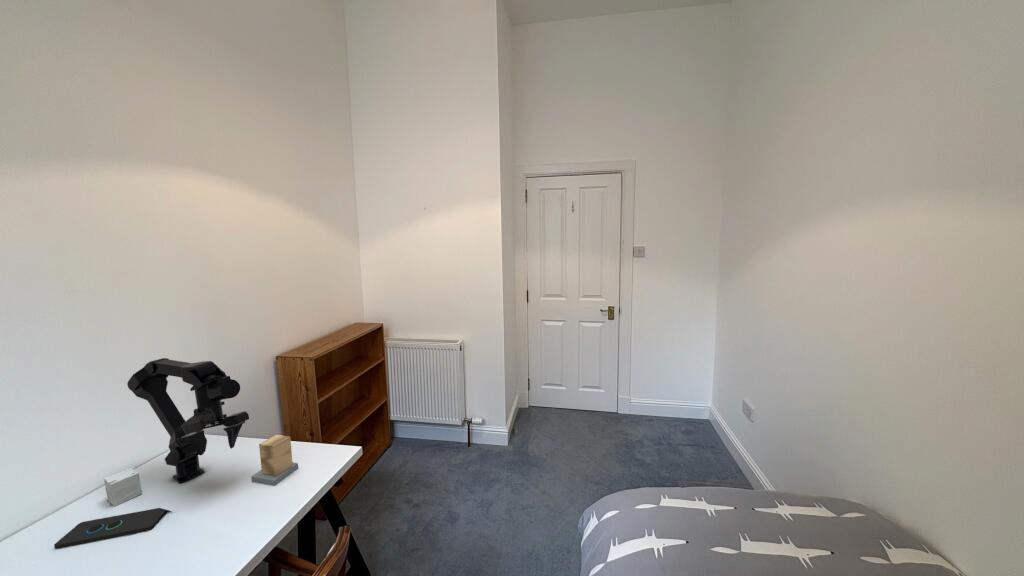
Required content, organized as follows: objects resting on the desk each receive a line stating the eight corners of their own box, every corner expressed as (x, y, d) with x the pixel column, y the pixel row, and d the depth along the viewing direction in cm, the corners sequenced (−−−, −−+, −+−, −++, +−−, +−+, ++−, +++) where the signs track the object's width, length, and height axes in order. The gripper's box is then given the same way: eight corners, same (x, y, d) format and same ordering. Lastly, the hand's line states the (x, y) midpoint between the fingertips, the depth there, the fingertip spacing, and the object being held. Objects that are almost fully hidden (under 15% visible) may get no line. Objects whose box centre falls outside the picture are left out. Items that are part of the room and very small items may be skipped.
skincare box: (135, 488, 111) (131, 466, 110) (142, 494, 108) (138, 472, 108) (106, 500, 106) (103, 478, 105) (113, 507, 103) (109, 484, 102)
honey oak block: (261, 473, 113) (259, 444, 112) (278, 462, 118) (276, 434, 117) (276, 476, 111) (273, 446, 110) (292, 465, 117) (290, 436, 116)
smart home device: (80, 521, 96) (170, 505, 102) (81, 527, 96) (171, 510, 102) (51, 545, 88) (150, 526, 94) (52, 551, 89) (151, 532, 94)
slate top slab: (251, 482, 112) (251, 476, 111) (276, 464, 120) (276, 459, 120) (274, 486, 109) (274, 480, 109) (298, 468, 118) (297, 463, 118)
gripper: (153, 416, 102) (161, 470, 101) (219, 402, 103) (228, 455, 102) (186, 406, 113) (194, 454, 112) (246, 393, 114) (254, 440, 113)
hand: (216, 451), depth 109 cm, fingers open, 9 cm apart
